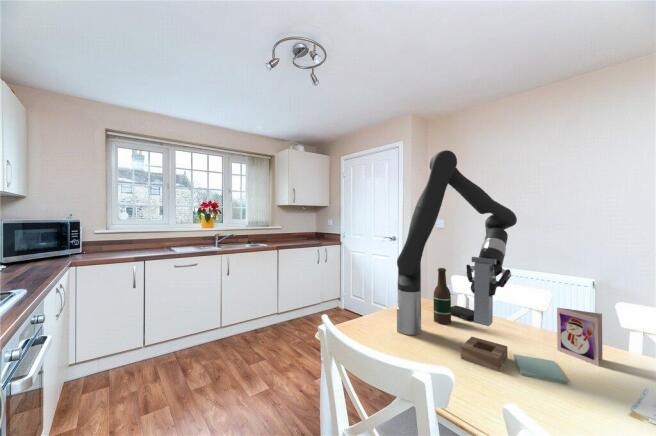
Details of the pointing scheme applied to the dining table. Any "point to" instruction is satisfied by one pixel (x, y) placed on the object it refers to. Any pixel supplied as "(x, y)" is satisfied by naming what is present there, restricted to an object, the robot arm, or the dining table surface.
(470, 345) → the socket block
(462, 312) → the carrying case or bag
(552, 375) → the pad
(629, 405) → the dining table surface
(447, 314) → the beer bottle
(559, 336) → the greeting card
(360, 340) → the dining table surface
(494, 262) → the t key
